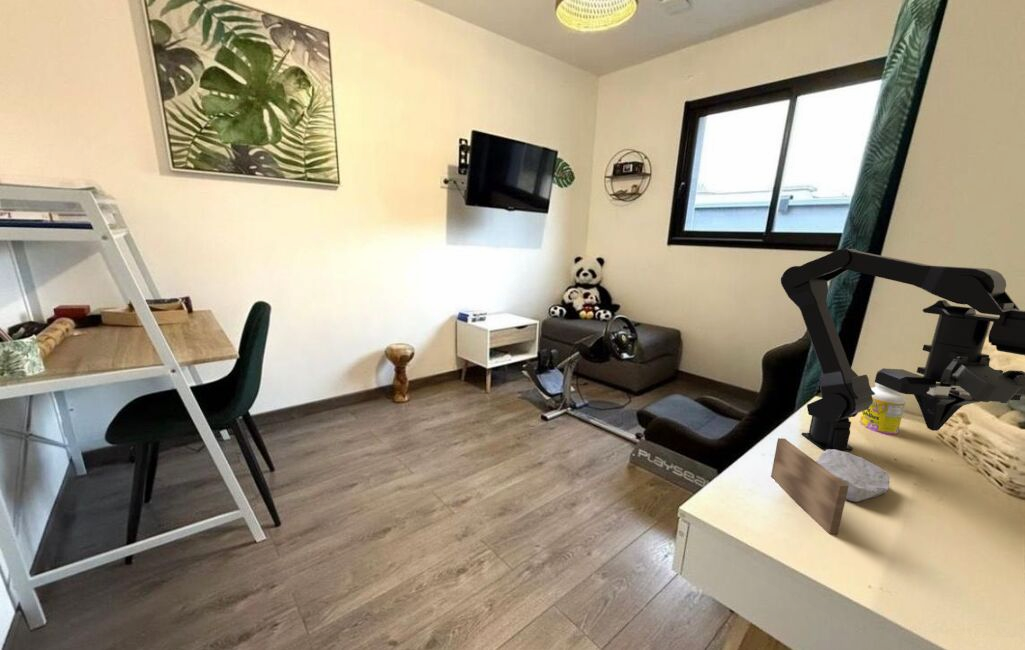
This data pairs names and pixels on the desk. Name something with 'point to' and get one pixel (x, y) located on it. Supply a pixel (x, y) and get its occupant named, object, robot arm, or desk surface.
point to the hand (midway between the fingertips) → (932, 429)
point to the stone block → (855, 474)
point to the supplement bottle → (884, 411)
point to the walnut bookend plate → (810, 485)
